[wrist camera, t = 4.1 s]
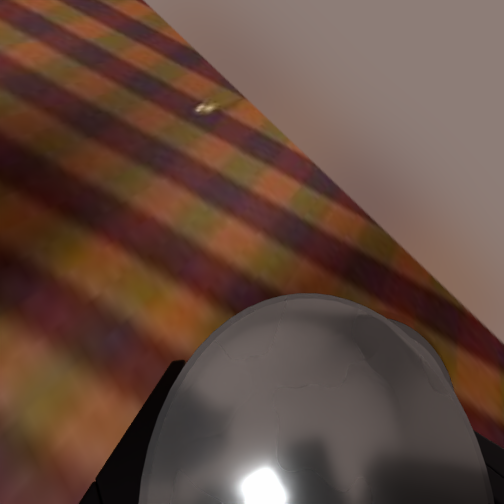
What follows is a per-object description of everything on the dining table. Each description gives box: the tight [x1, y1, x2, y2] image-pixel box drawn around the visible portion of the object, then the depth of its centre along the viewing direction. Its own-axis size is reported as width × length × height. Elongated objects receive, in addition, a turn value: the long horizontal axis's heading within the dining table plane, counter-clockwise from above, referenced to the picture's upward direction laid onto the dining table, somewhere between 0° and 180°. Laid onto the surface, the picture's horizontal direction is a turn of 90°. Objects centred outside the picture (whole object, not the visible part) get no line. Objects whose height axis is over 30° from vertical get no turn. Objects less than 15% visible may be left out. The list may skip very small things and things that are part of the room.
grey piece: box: [138, 293, 494, 504], centre depth 9 cm, size 5×5×12 cm
